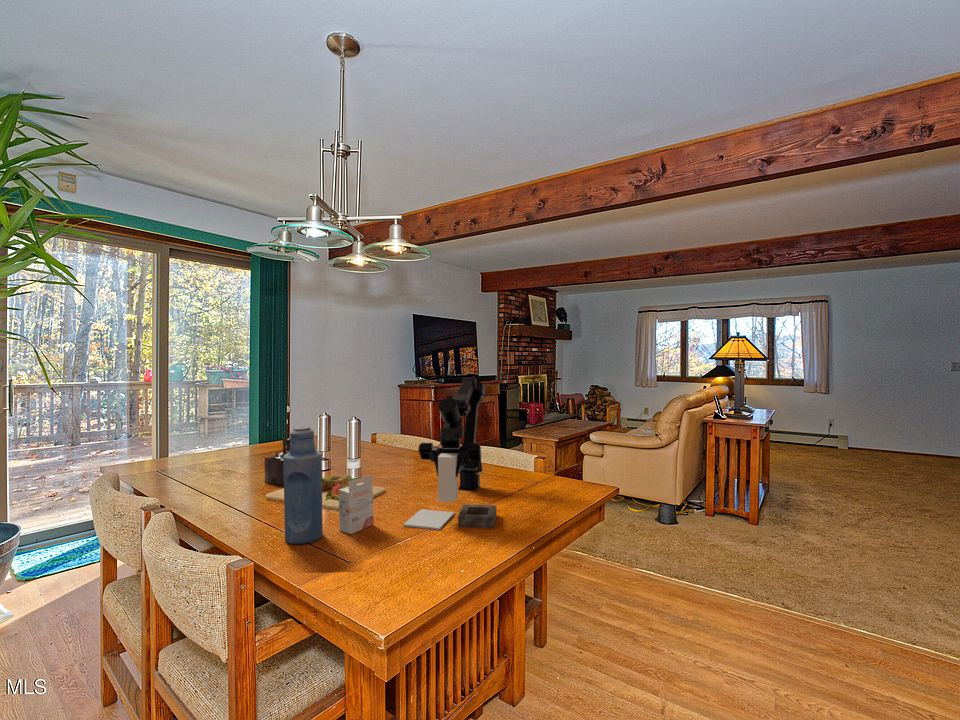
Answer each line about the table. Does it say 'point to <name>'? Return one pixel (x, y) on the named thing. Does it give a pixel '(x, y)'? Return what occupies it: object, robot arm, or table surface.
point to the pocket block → (477, 516)
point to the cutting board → (328, 491)
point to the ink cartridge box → (356, 505)
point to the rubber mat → (429, 519)
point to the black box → (276, 465)
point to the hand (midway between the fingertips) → (447, 476)
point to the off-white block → (447, 477)
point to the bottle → (302, 488)
